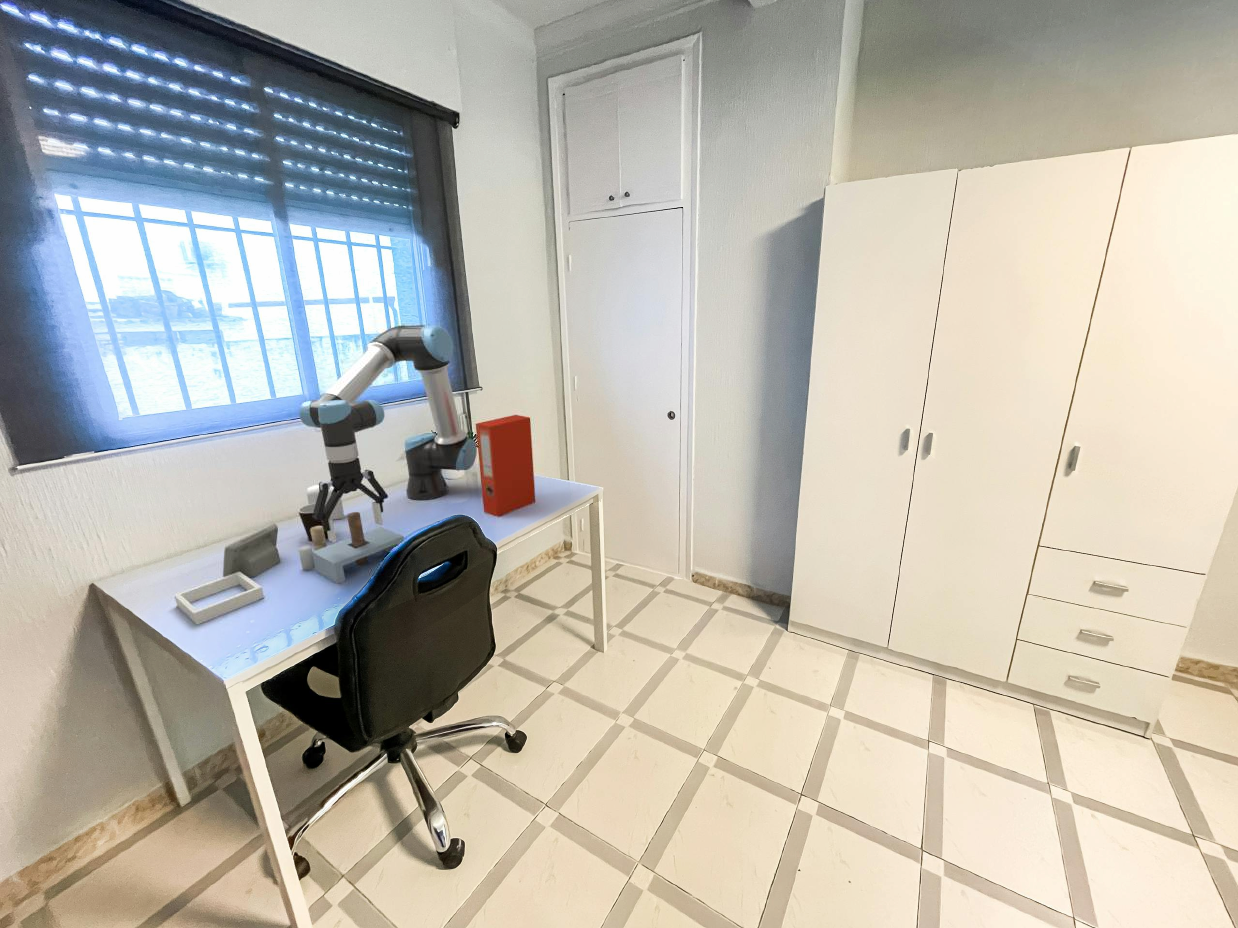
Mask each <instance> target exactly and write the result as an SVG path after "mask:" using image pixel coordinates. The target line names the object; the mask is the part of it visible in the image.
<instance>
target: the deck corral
mask: <svg viewBox="0 0 1238 928" xmlns="http://www.w3.org/2000/svg"><path fill="white" fill-rule="evenodd" d="M238 585H240V586H241V587H243V588H244V589H245V591H244V592H240V593H238V594H236V595H233V596H231V597H228V598H226V599H223V600H220V601H218V602H215V603H212V604H209V605H207V606H204V607H201V608H200V609H197V608H196V607H194V605H192V603H193V602H196V601H199V600H201V599H204V598H206V597H208V596H212V595H214V594H216V593H219V592H222V591H225V590H227V589H231V588H233V587H236V586H238ZM173 596H174V599H175V603H176V605H177V608H179V609H180V610H181V611H182V612H183V613H185V614H186V616H187V617H189V618H190V619H191V620H192V622H194V623H195V624H196V625H200V624H204V623H205V622H208V621H210V620H212V619H215V618H217V617H220V616H222V615H224V614H227V613H229V612H232V611H235V610H237V609H239V608H242V607H245V606H247V605H249V604H252V603H254V602H257V601H259V600H262V599H264V598H265V595H264V590H263V587H262V586H261V585H259V584H258V583H257V582H255V581H254V580H252V579H251V578H249V576H245V575H244V574H242V573H241V572H237V573H234V574H231V575H229V576H226V577H220V578H218V579H215V580H212V581H208V582H207V583H204V584H201V585H199V586H195V587H193V588H189V589H187V590H184V591H182V592H179V593H175V594H173Z"/></svg>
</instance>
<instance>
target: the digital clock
mask: <svg viewBox="0 0 1238 928" xmlns="http://www.w3.org/2000/svg"><path fill="white" fill-rule="evenodd" d="M278 532H279V528H278V525H277V524H276V523H273V524H268V525H266V526H264V527H261V528H260V529H257V530H256V531H254V532H251V533H249V534H247V535H245V536H242V537H241V538H239V539H237V540H235V541H233V542H231V543H228V544H227V545H226V546H225V547H224V552H223V564H222V566H223V568H222V576H223V577H226V576H229V575H231V574H234V573H237V572H241V573H242V574H244V575H245V576H247V577H251V578H254V577H257V576H259V575H260V574H262V573H263V572H265V571H267V570H268V569H270V568H272V567H274V566H275V565H278V564H279V563H280V562H281V557H280V552H279V549H278V548H277V543H278ZM223 577H222V578H223Z"/></svg>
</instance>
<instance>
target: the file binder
mask: <svg viewBox="0 0 1238 928" xmlns="http://www.w3.org/2000/svg"><path fill="white" fill-rule="evenodd" d="M475 430H476V431H475V432H476V441H477V453H478V463H479V473H480V475H479V476H480V483H481V484H480V485H481V494H482V504H483V512H484V513H486V514H488V515H491V516H494V517H496V516H500V517H502V516H504V515H506V514H509V513H512V512H514V511H517V510H519V509H522V508H524V507H526V506H527V507H528V506H529V505H531V504H535V503H536V489H535V475H534V458H533V442H532V441H533V440H532V425H531V417H530V416H524V415H519V414H513V415H508V416H504V417H500V418H495V419H491V420H486V421H481V422H477V423H475Z"/></svg>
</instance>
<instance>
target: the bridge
mask: <svg viewBox="0 0 1238 928" xmlns="http://www.w3.org/2000/svg"><path fill="white" fill-rule="evenodd" d="M363 534H364V539H365V545H364V546H361V547H358V548H356V549H355V548H353V545H352V540H351V537H349V538H346V539H344V540H341V541H336V542H334V543H333V544H330V545H327V546H326V547H324V548H321V549H318V550H316V551H315V550H314V551H313V550H312V551H313V552H312V555H313V559H314V564H315V568H314V569H315V572H316V573H318V574H320V575H322V576H323V577H325V578H326V579H328V580H330V581H332V582H334V583H335V584H337V585H339V584H341V583H344V582H346V576H345V572H344V566H345V565H348V564H350V563H352V562H356V561H355V560H358V559H360V558H363V557H365V556H370V555H373V554H375V553H377V552H380V551H382V550H383V551H386V552H387V553H389V552H390V551H391V550H392V549H393V548H394V547H396V546H398V545H399V544H400V543H402V542H403V541H404V542H405V537H404V535H401V534H399V533H397V532H395V531H392V530H389V529H388V528H385V527H383V526H378V527H375V528H374V529H370V530H367V531H366V532H365V531H364V532H363Z"/></svg>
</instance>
